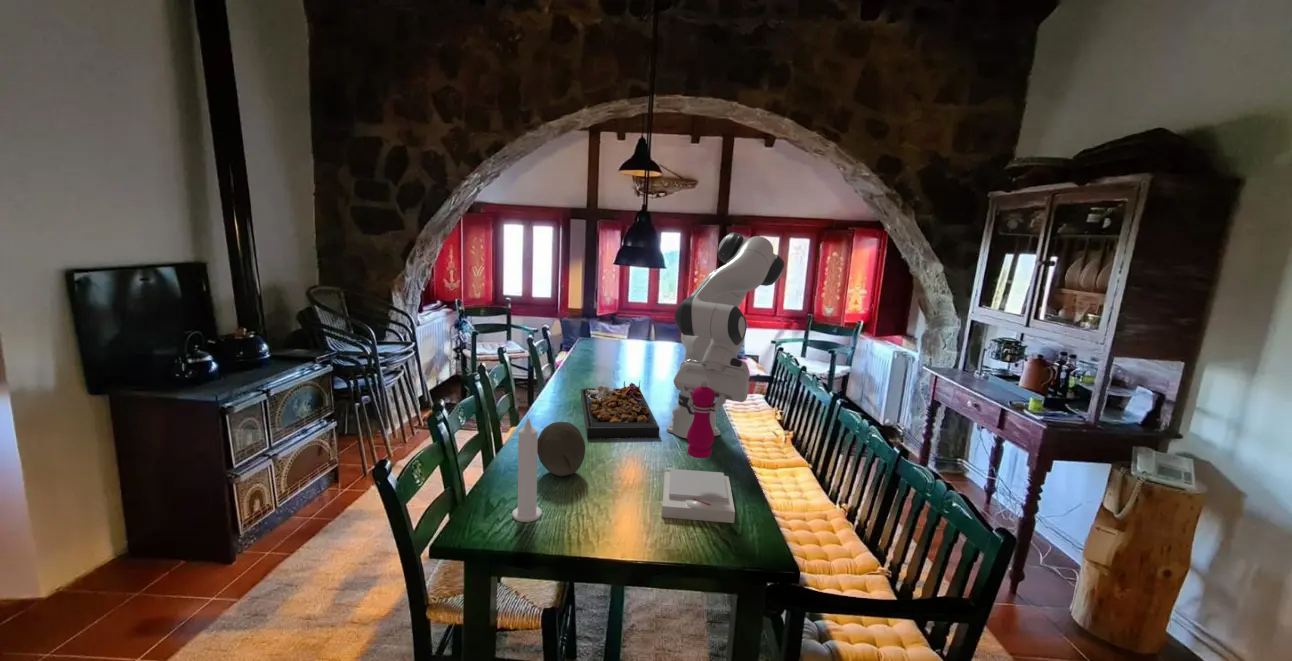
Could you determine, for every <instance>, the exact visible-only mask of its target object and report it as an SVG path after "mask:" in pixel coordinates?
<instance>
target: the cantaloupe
mask: <svg viewBox="0 0 1292 661" xmlns="http://www.w3.org/2000/svg"><path fill="white" fill-rule="evenodd" d="M585 455H586V443H585V439H584V437H583V435H582V432H581V431H580V429H579V428H578V427H577V426H576V425H574V424H573V423H570V422H568V421H567V422H566V421H555V422H552V423H550V424H548V425H546V426H545V427H544V428H543V429H542V430H541V432H540V433H539V434H538V444H537V458H539V462H540V463H541V464H542V466H543V468H545V469H546V471H548V472H550V473H551V474H553V475H555V476H559V477H565V476H569V475H572V474H575V473H576V472H577V471H578V470H579V469H580V467H581V466H582V464H583V461H584V460H585V459H584V458H585Z"/></svg>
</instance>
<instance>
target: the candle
mask: <svg viewBox="0 0 1292 661" xmlns="http://www.w3.org/2000/svg"><path fill="white" fill-rule="evenodd" d="M525 421H526V422H525V424H524V426H523V427H522V428H520V429H519V430H518V432H517V433H518V436H517V438H518V442H517V443H518V447H517V449H518V450H517V451H518V453H517V454H518V455H517V457H518V458H517V463H518V464H517V507H516V508H514V509H513V511H512V512H511V514H512V515H511V516H512V518H513V519H514V520H515V521H518V522H522V523H529V522H534V521H537V520H538V519H540V518H541V516H542V513H543V512H542V509H541V508H540V507H539V506H538V505H537V502H538V501H537V500H538V499H537V498H538V497H537V496H538V495H537V494H538V489H537V488H538V453H537V444H538V437H539V432H538V429H536V428H535V427H533V426H532V423H531V419H530V418H529V417H527V418H526V420H525Z"/></svg>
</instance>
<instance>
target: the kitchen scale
mask: <svg viewBox="0 0 1292 661" xmlns="http://www.w3.org/2000/svg"><path fill="white" fill-rule="evenodd" d="M663 476H664V479H663V492H662V493H663V494H662V504H661V505H662V506H661V518H667V519H668V518H669V519H680V520H694V521H703V522H704V521H706V522H717V523H728V524H729V523H730V524H731V523H732V524H735V517H736V516H735V515H736V509H735V505H734V500H733V494H732V488H731V483H730V477H729V475H725V473H724V472H722V471H721V472H718V471H708V470H707V471H706V470H705V471H704V470H694V469H693V470H692V469H678V468H670V469H669V471H664V475H663Z"/></svg>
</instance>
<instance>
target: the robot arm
mask: <svg viewBox="0 0 1292 661" xmlns="http://www.w3.org/2000/svg"><path fill="white" fill-rule="evenodd" d="M717 256H718V257H717V258H718V259H719V260H720V261H721V263H724V264H723V265H721V266H720V267H717V268H716V269H713V270H712V271H711V272H710V273H709V274H708V275H707V277H705V279H703V281H702V282H701V283H700V284H699V285H698V286H697V288H696V289H695V290H694V291H693V292H692V293H691V294H690V295H689V296H688V297H687V298H685V299H684V300H682V301H681V303H680V304H678V306H677V307H676V310H675V313H674V314H675V315H674V324H675V326H676V328H677V329H678V330H679V332H680V333H681V334H680V341H681V344H682V346H683V347H684V348H685V358H684V361H682V362H681V364H680V366H679V369H678V371H677V372H676V374H675V376H674V378H673V385H674V386H675V388H676V390H677V391H680V392H679V393H678V396H677V397H678V398H677V399H678V404H677V406H675V408H673V409H672V415H673V416H672V420H671V421H670V423H669V424H668V426H667V427H666V432H667V433H672V434H674V435H675V436H677V437H680V438H683V439H686V440H687V433H688V430H689V428H690V427H691V425H692V423H693V420H694V410H693V407H694V406H693V404H694V402H693V400H692V393H693V391H694V389H696V388H697V387H700V386H701V382H703V381H706V382H707V384H708V385H707V387H709V388H711V389H712V390H713V391H714V394H715V398H717V399H718V400H717V401H716V402H713V403H712V404H711V405H712V406H711V410H712V411H711V412H710V423H711V427H712V430H713V433H714V437H717V436H720V435H721V431H720V430H719V429H718V427H717V425H716V421H717V413H718V412H719V408H721V406H723V405H725V404H726V402H727V400H728V401H734V402H739V403H744V402H745V401H747V399H748V396H749V391H750V381H749V380H750V377H751V373H750V369H749V366H748V364H747V363H746V361H744V360H741V359H739V358H738V354H739V352H740V351H741V350H742V348H743V344H744V341H745V338H746V333H747V326H748V325H747V323H748V322H747V319H746V317H745V315H744V313H743V312H742V311H741V309H740V306H741V304H742V303H743V302H744V300H745V297H746V296H747V294H748V292H752V291H754V290H756V289H757V288H759V287H760V286H765V287H769V286H771V285H772V286H773V285H774V284H775V283H777V281H779V280H780V278H781V277H782V275H783V272H784V267H785V260H784V259H782V257H781V256H779V255H778V254H775V253H774V246H773V244H772V242H771V241H770V240H769V239H768V238H766V237H763V236H759V235H756V236H752V237H750V238H748V237H746V236H743V235H742V234H741V233H738V232H735V231H734V232H729V234H727V235H726V236H724V237H723V238H722V239H721V241H720V243H719V245H718V251H717Z"/></svg>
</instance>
